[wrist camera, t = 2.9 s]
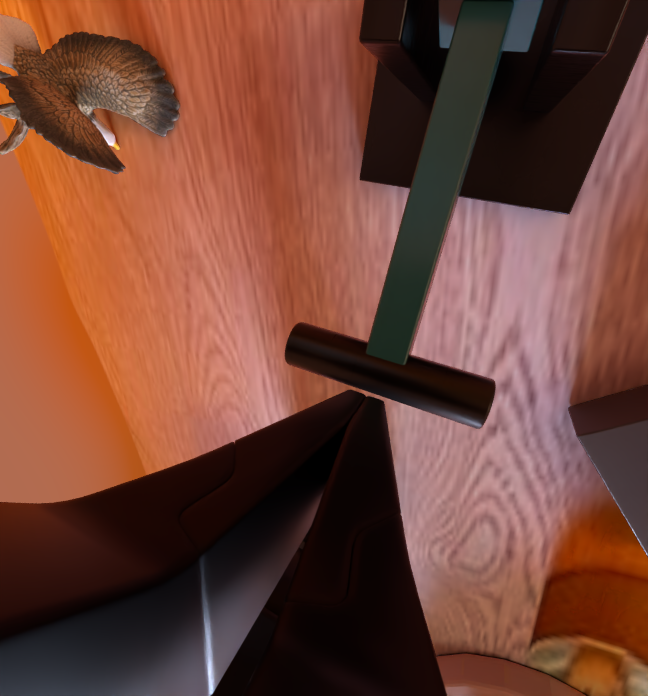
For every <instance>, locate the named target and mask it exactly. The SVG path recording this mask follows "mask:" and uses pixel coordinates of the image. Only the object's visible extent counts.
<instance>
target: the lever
mask: <svg viewBox="0 0 648 696" xmlns="http://www.w3.org/2000/svg"><path fill="white" fill-rule="evenodd" d="M543 3H544V0H438V20H439V43H440V47H441V48H449V50H448V53H447V57H446V61H445V64H444V68H443V72H442V75H441V79H440V83H439V86H438V90H437V93H436V97H435V101H434V104H433V108H432V112H431V115H430V119H429V123H428V126H427V130H426V133H425V137H424V141H423V144H422V148H421V152H420V155H419V159H418V162H417V166H416V170H415V173H414V177H413V181H412V184H411V188H410V192H409V195H408V199H407V202H406V206H405V210H404V213H403V217H402V221H401V224H400V228H399V232H398V235H397V239H396V242H395V246H394V250H393V253H392V257H391V261H390V264H389V268H388V271H387V275H386V279H385V282H384V286H383V290H382V293H381V297H380V301H379V304H378V308H377V311H376V315H375V319H374V322H373V326H372V330H371V333H370V337H369V341H368V342H367V341H364V340H360V339H357V338H354V337H350V336H347V335H344V334H340V333H337V332H334V331H330V330H327V329H324V328H320V327H317V326H314V325H310V324H307V323H304V322H300V323H298V324H296V325H295V327H294V328H293V329H292V331H291V333H290V335H289V338H288V340H287V344H286V348H285V360H286V362H287V363H288V364H289V365H292V366H295V367H298V368H300V369H303V370H306V371H309V372H312V373H315V374H318V375H321V376H324V377H327V378H330V379H333V380H336V381H339V382H341V383H344V384H347V385H350V386H353V387H356V388H359V389H362V390H365V391H368V392H371V393H374V394H377V395H380V396H382V397H385V398H388V399H391V400H394V401H397V402H400V403H403V404H406V405H409V406H412V407H415V408H418V409H420V410H423V411H426V412H429V413H432V414H435V415H438V416H441V417H444V418H447V419H450V420H453V421H456V422H459V423H461V424H464V425H467V426H470V427H473V428H476V429H480V428H481V427H482V426H483V425H484V423H485V421H486V419H487V417H488V415H489V412H490V409H491V406H492V403H493V399H494V395H495V388H496V385H495V381H494V380H493V379H490V378H487V377H483V376H480V375H477V374H473V373H470V372H467V371H463V370H460V369H457V368H453V367H450V366H447V365H443V364H440V363H437V362H434V361H430V360H427V359H424V358H420V357H417V356H414V355H411V352H412V349H413V346H414V342H415V339H416V336H417V333H418V329H419V326H420V323H421V319H422V316H423V313H424V309H425V306H426V303H427V300H428V296H429V293H430V290H431V286H432V283H433V280H434V276H435V273H436V270H437V267H438V263H439V260H440V257H441V253H442V250H443V247H444V243H445V240H446V237H447V234H448V230H449V227H450V224H451V220H452V217H453V214H454V211H455V207H456V204H457V201H458V197H459V194H460V191H461V187H462V184H463V181H464V178H465V174H466V171H467V168H468V164H469V161H470V158H471V154H472V151H473V148H474V145H475V141H476V138H477V135H478V131H479V128H480V125H481V121H482V118H483V115H484V112H485V108H486V105H487V102H488V98H489V95H490V92H491V88H492V85H493V82H494V79H495V75H496V72H497V69H498V65H499V62H500V59H501V55H502V52H503V51H514V52H527V51H528V50H529V48H530V44H531V41H532V38H533V35H534V32H535V29H536V25H537V22H538V19H539V16H540V13H541V10H542V6H543Z"/></svg>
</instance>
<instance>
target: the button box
mask: <svg viewBox="0 0 648 696" xmlns="http://www.w3.org/2000/svg"><path fill="white" fill-rule="evenodd" d="M568 410H569V413H570V416H571V419H572V422H573V426H574V429H575V432H576V435H577V437H578V439H579V441H580V443H581V444H582V446H583V448H584V449H585V451H586V453H587V454H588V456H589V458H590V460H591V461H592V463H593V465H594V466H595V468H596V470H597V472H598V473H599V475H600V477H601V478H602V480H603V482H604V483H605V485H606V487H607V489H608V490H609V492H610V494H611V495H612V497H613V499H614V500H615V502H616V504H617V506H618V507H619V509H620V511H621V512H622V514H623V516H624V517H625V519H626V521H627V523H628V524H629V526H630V528H631V529H632V531H633V533H634V535H635V536H636V538H637V540H638V541H639V543H640V545H641V546H642V548H643V550H644V552H645V553H646V555H647V557H648V385H645V386H641V387H638V388H634V389H631V390H627V391H624V392H620V393H617V394H613V395H610V396H606V397H603V398H600V399H596V400H593V401H589V402H586V403H582V404H579V405H575V406H572V407H569V408H568Z"/></svg>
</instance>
